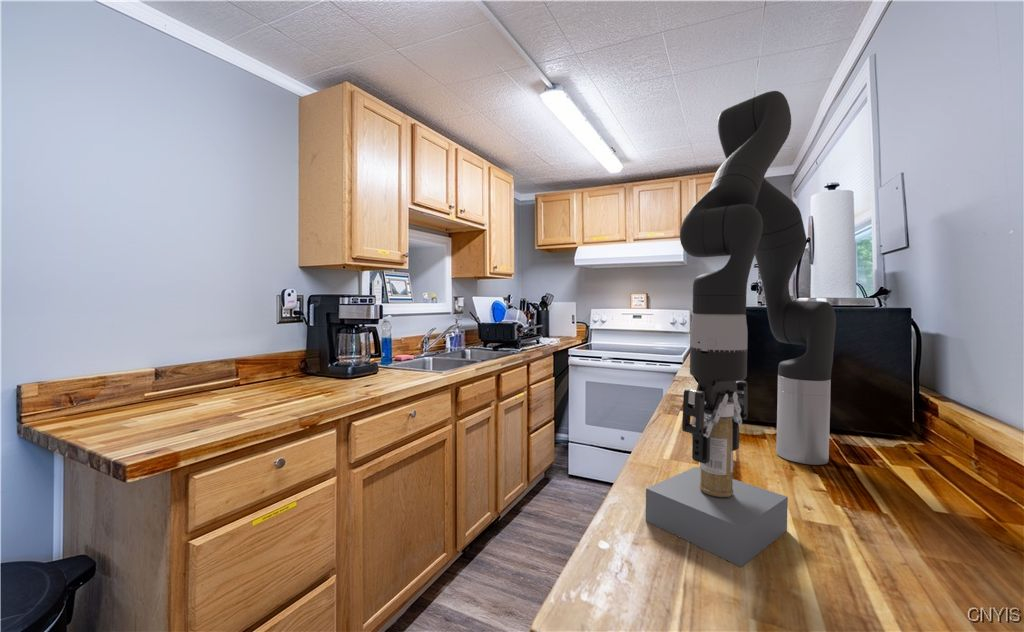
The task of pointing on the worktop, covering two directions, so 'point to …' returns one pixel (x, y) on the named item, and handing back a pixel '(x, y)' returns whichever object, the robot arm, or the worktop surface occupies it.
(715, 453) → the spice jar
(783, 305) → the robot arm
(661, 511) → the grey block
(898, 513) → the worktop surface
